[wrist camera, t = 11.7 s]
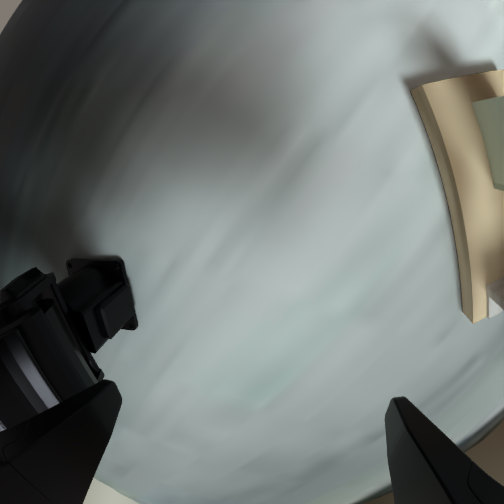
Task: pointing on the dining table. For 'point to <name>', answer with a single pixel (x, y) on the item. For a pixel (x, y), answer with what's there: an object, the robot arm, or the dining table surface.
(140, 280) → the dining table surface
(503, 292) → the tan board with upright
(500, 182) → the sage book
